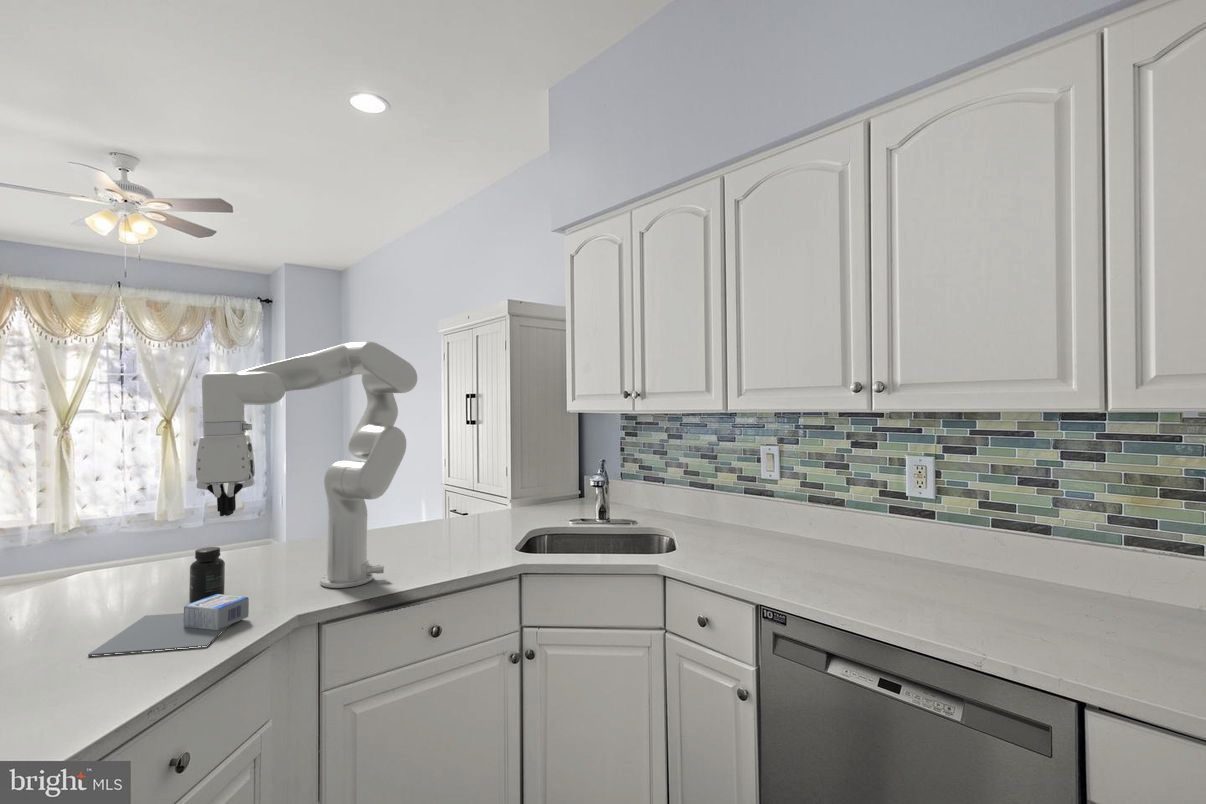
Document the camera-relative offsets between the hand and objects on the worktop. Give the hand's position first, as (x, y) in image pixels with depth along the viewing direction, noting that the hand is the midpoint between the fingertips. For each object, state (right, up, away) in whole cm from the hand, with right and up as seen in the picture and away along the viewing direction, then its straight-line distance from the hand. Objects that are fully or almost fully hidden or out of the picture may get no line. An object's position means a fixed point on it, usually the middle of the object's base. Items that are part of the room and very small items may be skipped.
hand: (226, 514), depth 126 cm
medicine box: (+5, -20, -5) cm, 21 cm away
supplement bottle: (-12, -23, +11) cm, 28 cm away
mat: (-6, -22, -8) cm, 24 cm away
